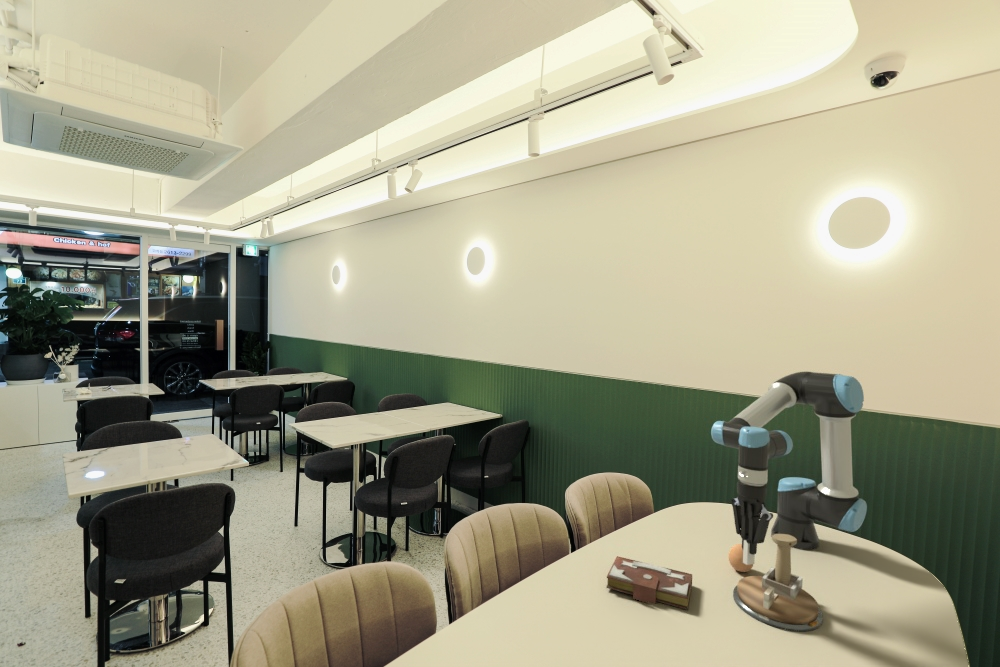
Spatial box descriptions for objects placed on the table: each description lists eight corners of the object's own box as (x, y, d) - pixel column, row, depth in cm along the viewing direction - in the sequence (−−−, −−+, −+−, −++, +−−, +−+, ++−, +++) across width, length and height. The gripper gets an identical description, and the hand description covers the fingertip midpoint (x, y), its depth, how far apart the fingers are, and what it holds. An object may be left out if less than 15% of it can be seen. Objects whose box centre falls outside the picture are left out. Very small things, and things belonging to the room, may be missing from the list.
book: (692, 586, 145) (692, 570, 145) (687, 614, 131) (688, 596, 131) (616, 567, 155) (617, 552, 155) (605, 591, 141) (605, 575, 141)
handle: (798, 591, 136) (800, 541, 136) (778, 593, 136) (780, 542, 135) (786, 582, 141) (788, 533, 141) (766, 583, 140) (768, 534, 140)
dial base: (748, 576, 150) (748, 571, 150) (830, 607, 135) (831, 602, 135) (721, 604, 135) (721, 599, 135) (811, 643, 119) (811, 637, 119)
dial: (750, 574, 149) (751, 556, 149) (826, 603, 135) (826, 582, 134) (726, 600, 135) (727, 579, 135) (807, 634, 121) (808, 611, 120)
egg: (747, 579, 149) (748, 552, 148) (724, 569, 154) (725, 544, 154) (756, 571, 154) (757, 545, 153) (733, 562, 159) (734, 537, 159)
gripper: (724, 475, 140) (720, 554, 141) (761, 490, 128) (757, 576, 128) (743, 473, 143) (740, 550, 143) (782, 488, 130) (778, 572, 131)
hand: (748, 563), depth 136 cm, fingers closed
